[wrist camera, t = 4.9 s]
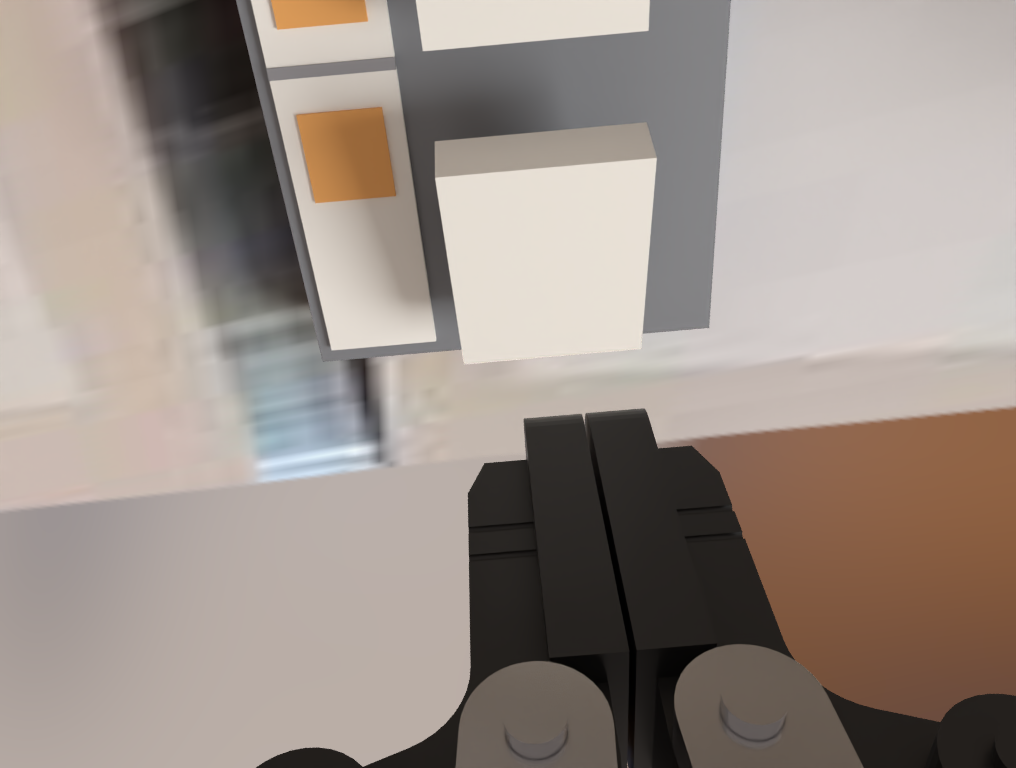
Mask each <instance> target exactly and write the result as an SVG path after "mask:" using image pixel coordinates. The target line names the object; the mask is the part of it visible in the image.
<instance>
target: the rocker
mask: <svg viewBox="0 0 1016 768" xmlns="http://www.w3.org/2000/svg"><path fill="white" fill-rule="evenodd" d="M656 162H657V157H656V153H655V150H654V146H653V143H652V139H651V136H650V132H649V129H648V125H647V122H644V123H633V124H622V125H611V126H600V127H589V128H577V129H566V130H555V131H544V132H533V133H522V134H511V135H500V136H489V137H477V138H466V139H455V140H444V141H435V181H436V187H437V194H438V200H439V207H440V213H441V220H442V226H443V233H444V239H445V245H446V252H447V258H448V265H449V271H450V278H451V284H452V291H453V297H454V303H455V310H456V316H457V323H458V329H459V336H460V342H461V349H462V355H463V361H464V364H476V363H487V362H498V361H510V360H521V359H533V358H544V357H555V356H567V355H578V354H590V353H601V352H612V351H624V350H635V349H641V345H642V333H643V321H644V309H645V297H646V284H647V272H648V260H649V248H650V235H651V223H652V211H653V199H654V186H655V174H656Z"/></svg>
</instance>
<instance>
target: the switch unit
mask: <svg viewBox="0 0 1016 768" xmlns="http://www.w3.org/2000/svg"><path fill="white" fill-rule="evenodd" d="M236 2H237V6H238V11H239V15H240V19H241V23H242V27H243V31H244V36H245V40H246V44H247V48H248V52H249V56H250V61H251V65H252V69H253V73H254V77H255V81H256V86H257V90H258V94H259V98H260V102H261V106H262V111H263V115H264V119H265V123H266V127H267V131H268V136H269V140H270V144H271V148H272V152H273V156H274V161H275V165H276V169H277V173H278V177H279V181H280V186H281V190H282V194H283V198H284V202H285V206H286V211H287V215H288V219H289V223H290V227H291V231H292V236H293V240H294V244H295V248H296V252H297V256H298V261H299V265H300V269H301V273H302V277H303V281H304V286H305V290H306V294H307V298H308V302H309V306H310V311H311V315H312V319H313V323H314V327H315V331H316V336H317V340H318V344H319V348H320V352H321V356H322V361H323V362H325V361H336V360H347V359H359V358H370V357H382V356H393V355H404V354H416V353H427V352H439V351H450V350H461V342H460V336H459V329H458V323H457V316H456V310H455V303H454V297H453V291H452V284H451V278H450V271H449V265H448V258H447V252H446V245H445V239H444V233H443V226H442V220H441V213H440V207H439V200H438V194H437V187H436V181H435V141H444V140H455V139H466V138H477V137H489V136H500V135H511V134H522V133H533V132H544V131H555V130H566V129H577V128H589V127H600V126H611V125H622V124H633V123H644V122H647V125H648V129H649V132H650V136H651V139H652V143H653V146H654V150H655V153H656V157H657V162H656V174H655V186H654V199H653V211H652V223H651V235H650V248H649V260H648V272H647V284H646V297H645V309H644V321H643V333H642V334H644V333H655V332H666V331H678V330H689V329H701V328H709V320H710V305H711V290H712V275H713V260H714V245H715V230H716V215H717V199H718V184H719V169H720V154H721V139H722V124H723V109H724V94H725V79H726V64H727V49H728V34H729V18H730V3H731V0H650V8H649V31H641V32H630V33H619V34H608V35H597V36H586V37H575V38H564V39H553V40H542V41H531V42H520V43H510V44H499V45H488V46H477V47H466V48H455V49H444V50H433V51H423V49H422V42H421V34H420V27H419V20H418V13H417V6H416V0H236Z"/></svg>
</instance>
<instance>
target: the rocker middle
mask: <svg viewBox="0 0 1016 768" xmlns="http://www.w3.org/2000/svg"><path fill="white" fill-rule="evenodd" d="M416 6H417V13H418V20H419V27H420V34H421V42H422V49H423V51H433V50H444V49H455V48H466V47H477V46H488V45H499V44H510V43H520V42H531V41H542V40H553V39H564V38H575V37H586V36H597V35H608V34H619V33H630V32H641V31H649V8H650V0H416Z"/></svg>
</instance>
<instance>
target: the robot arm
mask: <svg viewBox="0 0 1016 768" xmlns="http://www.w3.org/2000/svg"><path fill="white" fill-rule="evenodd" d="M524 434H525V448H526V460H518V461H506V462H494V463H485V464H484V465H483V467H482V469H481V471H480V473H479V475H478V476H477V478H476V480H475V482H474V484H473V486H472V487H471V489H470V491H469V493H468V527H469V588H470V650H471V651H470V653H471V655H470V656H471V669H470V680H469V684H468V688H467V691H466V693H465V696H464V698H463V700H462V702H461V704H460V705H459V707H458V709H457V710H456V712H455V713H454V715H453V716H452V717H451V718H450V719H449V720H448V721H447V723H446V724H445V725H444V726H442V727H441V728H440V729H439V730H438V731H437V732H436V733H434V734H433V735H431V736H430V737H428V738H427V739H425V740H424V741H422V742H420V743H418V744H417V745H414V746H412V747H410V748H408V749H406V750H403V751H401V752H398V753H396V754H393V755H391V756H388V757H386V758H384V759H381V760H379V761H376V762H374V763H371V764H369V765H367V766H364V767H362V766H361V765H360V764H359V763H358V762H356V761H355V760H354V759H353V758H350V757H349V756H347V755H345V754H344V753H341V752H338V751H335V750H332V749H325V748H303V749H298V750H292V751H289V752H286V753H283V754H280V755H277V756H275V757H273V758H271V759H269V760H268V761H265V762H264V763H262V764H261V765H259V766H258V767H256V768H627V762H628V767H629V768H1016V696H1012V695H1005V694H985V695H977V696H974V697H971V698H968V699H965V700H963V701H961V702H959V703H957V704H956V705H954V706H953V707H952V708H951V709H950V710H949V711H948V712H947V713H946V714H945V716H944V718H943V719H942V721H941V722H936V721H932V720H927V719H922V718H917V717H912V716H908V715H903V714H898V713H893V712H888V711H883V710H878V709H874V708H870V707H867V706H863V705H859V704H856V703H854V702H852V701H849V700H846V699H844V698H842V697H840V696H838V695H836V694H834V693H832V692H831V691H829V690H827V689H826V688H824V687H823V686H822V685H821V684H820V683H819V682H818V681H817V680H816V678H815V677H814V676H813V675H812V674H811V673H810V672H809V671H808V670H807V669H805V668H804V667H803V666H802V665H801V664H799V663H797V662H796V661H795V660H794V658H793V657H792V655H791V654H790V652H789V651H788V648H787V646H786V645H785V642H784V640H783V637H782V635H781V632H780V630H779V627H778V624H777V622H776V619H775V616H774V614H773V611H772V609H771V606H770V603H769V601H768V598H767V595H766V593H765V590H764V588H763V585H762V582H761V580H760V577H759V575H758V572H757V569H756V567H755V564H754V561H753V559H752V556H751V554H750V551H749V548H748V546H747V543H746V540H745V539H743V537H742V530H741V527H740V525H739V522H738V520H737V517H736V514H735V512H734V511H732V504H731V501H730V499H729V496H728V493H727V491H726V488H725V485H724V483H723V480H722V478H721V475H720V472H719V471H718V470H717V469H715V468H714V467H713V466H712V465H711V464H710V463H709V462H708V461H707V460H706V459H705V458H704V457H703V456H702V455H701V454H700V453H699V452H698V451H697V450H695V449H694V448H693V447H692V446H683V447H671V448H659V449H658V447H657V444H656V441H655V437H654V434H653V431H652V427H651V424H650V421H649V417H648V415H647V412H646V410H645V409H631V410H619V411H607V412H595V413H586V415H585V425H584V421H583V417H582V414H574V415H562V416H550V417H538V418H526V419H524Z"/></svg>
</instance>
